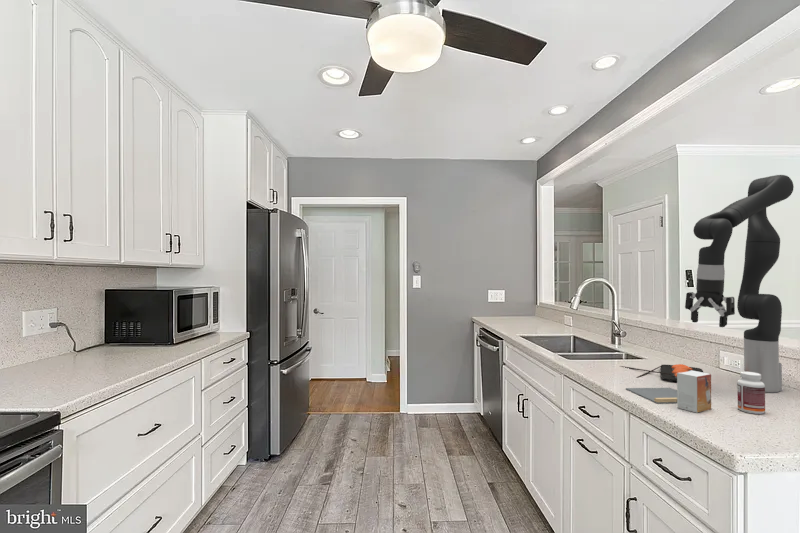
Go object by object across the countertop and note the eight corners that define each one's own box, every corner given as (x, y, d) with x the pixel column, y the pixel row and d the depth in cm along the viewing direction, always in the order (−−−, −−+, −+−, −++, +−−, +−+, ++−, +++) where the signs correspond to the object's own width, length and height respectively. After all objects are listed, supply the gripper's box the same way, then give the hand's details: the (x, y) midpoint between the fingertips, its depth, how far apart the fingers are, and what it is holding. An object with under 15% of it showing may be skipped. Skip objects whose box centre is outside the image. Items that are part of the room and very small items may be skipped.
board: (669, 388, 145) (669, 384, 145) (706, 402, 129) (706, 398, 129) (625, 389, 144) (625, 385, 144) (657, 403, 128) (657, 399, 128)
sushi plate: (709, 388, 147) (709, 378, 147) (614, 377, 163) (614, 367, 163) (702, 372, 172) (701, 363, 172) (620, 363, 188) (620, 355, 188)
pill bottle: (771, 413, 119) (770, 375, 119) (754, 415, 117) (753, 376, 118) (748, 407, 125) (748, 370, 125) (732, 408, 124) (731, 371, 124)
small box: (697, 413, 119) (696, 376, 119) (676, 407, 124) (676, 372, 124) (712, 409, 123) (711, 373, 123) (691, 404, 128) (691, 369, 128)
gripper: (740, 279, 136) (738, 327, 138) (694, 275, 149) (692, 319, 151) (727, 280, 133) (725, 330, 135) (681, 276, 146) (679, 321, 147)
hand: (708, 324), depth 143 cm, fingers open, 8 cm apart
